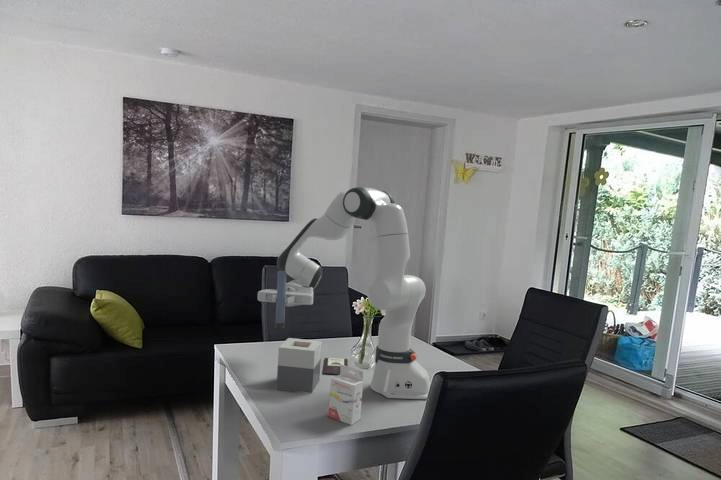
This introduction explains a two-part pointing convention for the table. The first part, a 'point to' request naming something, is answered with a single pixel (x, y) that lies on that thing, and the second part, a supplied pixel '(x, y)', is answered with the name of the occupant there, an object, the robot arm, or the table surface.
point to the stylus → (280, 300)
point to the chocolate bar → (333, 366)
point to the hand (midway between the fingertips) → (280, 300)
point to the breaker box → (299, 365)
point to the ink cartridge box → (346, 395)
